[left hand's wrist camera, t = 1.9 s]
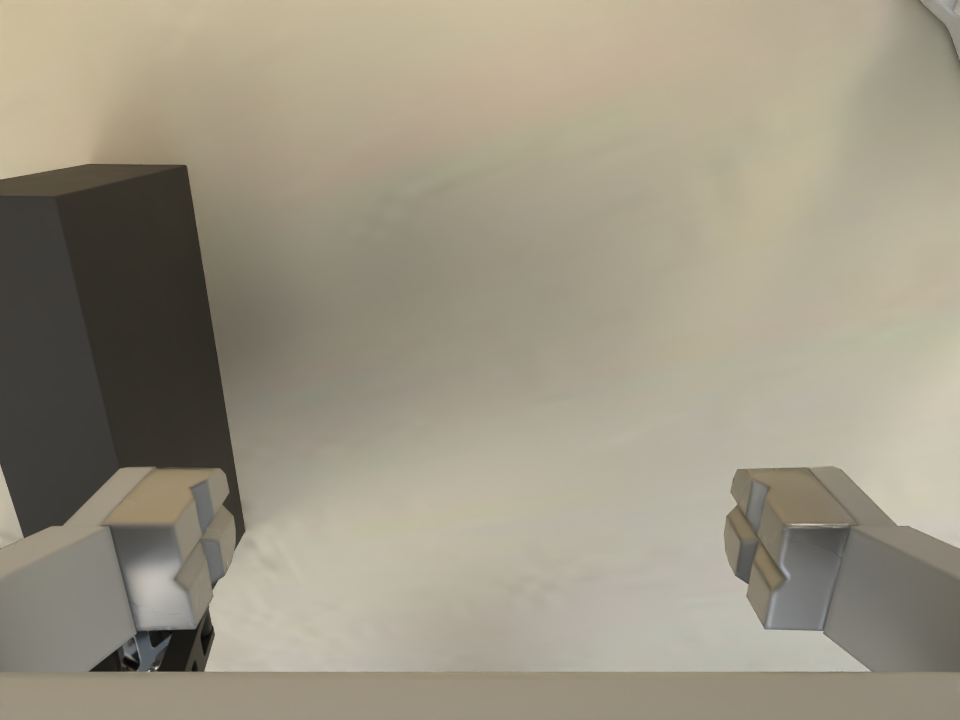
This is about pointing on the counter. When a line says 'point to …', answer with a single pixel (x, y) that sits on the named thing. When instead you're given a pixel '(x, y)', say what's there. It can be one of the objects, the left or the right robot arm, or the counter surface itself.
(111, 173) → the box
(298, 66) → the counter surface
